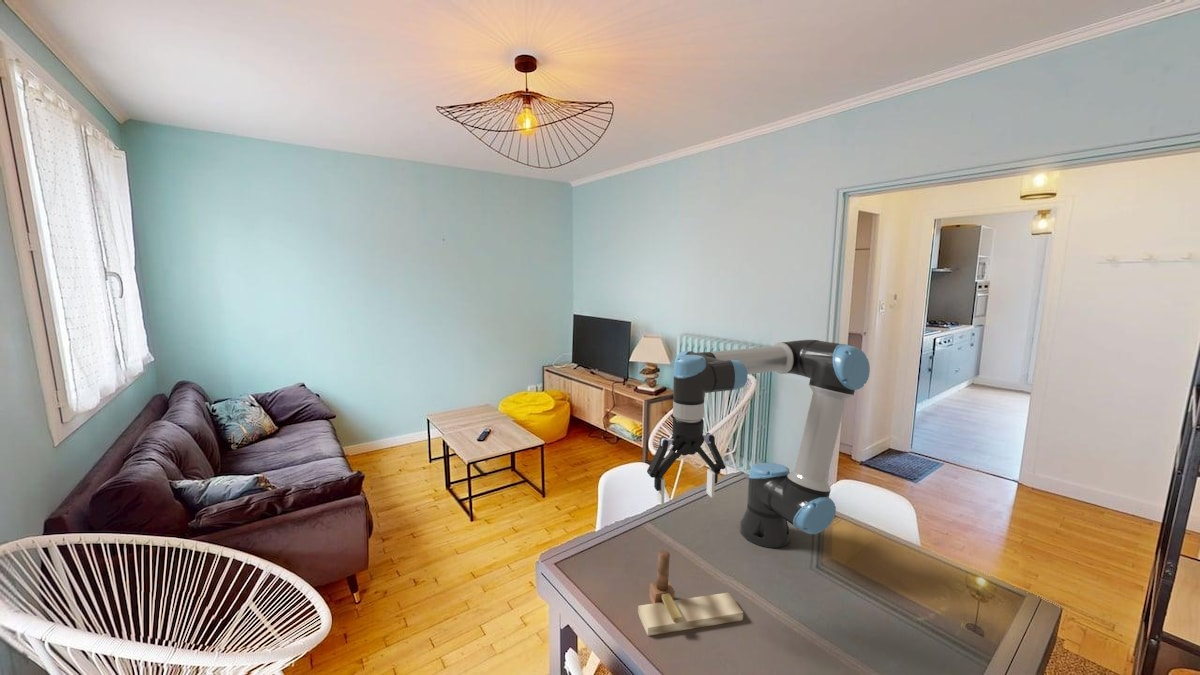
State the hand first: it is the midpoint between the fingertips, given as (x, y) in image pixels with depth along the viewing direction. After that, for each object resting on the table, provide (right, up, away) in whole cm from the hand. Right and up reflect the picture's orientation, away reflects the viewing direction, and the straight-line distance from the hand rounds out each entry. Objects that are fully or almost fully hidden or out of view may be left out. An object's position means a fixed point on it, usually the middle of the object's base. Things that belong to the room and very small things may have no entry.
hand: (685, 498), depth 112 cm
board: (0, -26, -6) cm, 27 cm away
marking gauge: (-5, -26, -5) cm, 27 cm away
